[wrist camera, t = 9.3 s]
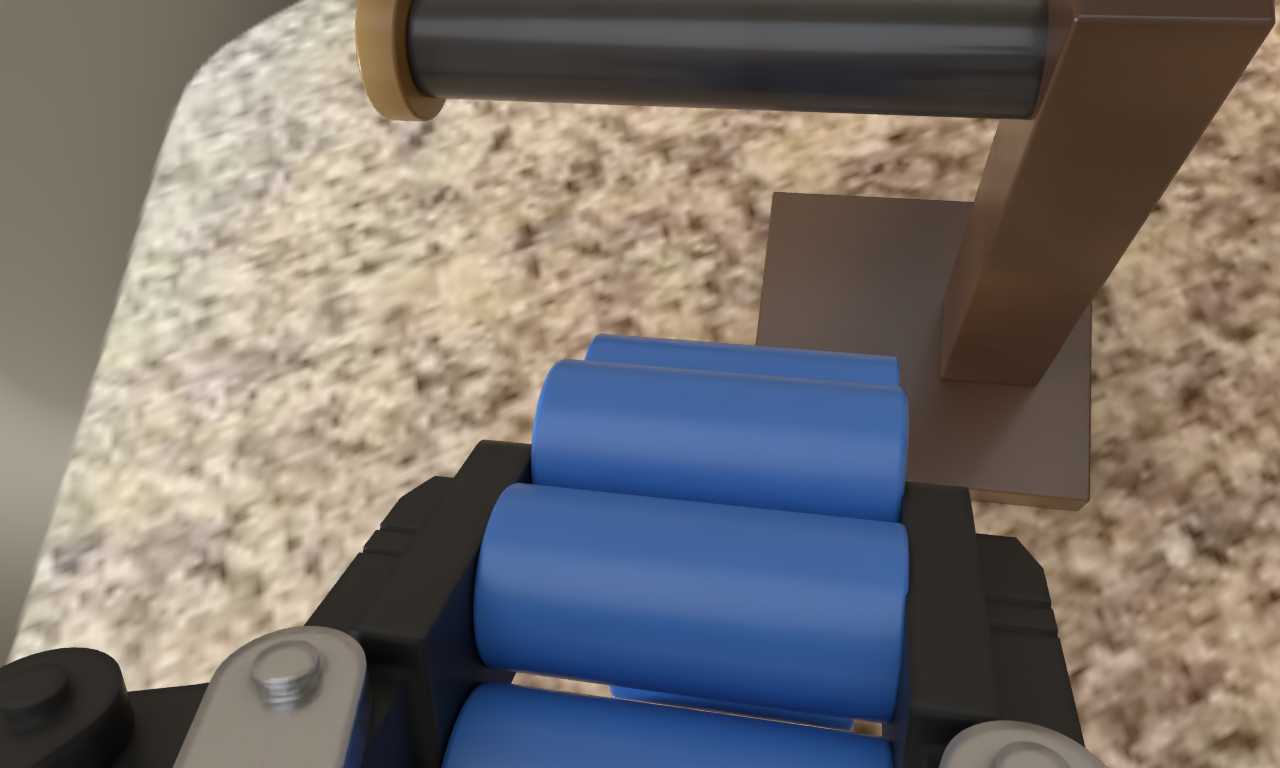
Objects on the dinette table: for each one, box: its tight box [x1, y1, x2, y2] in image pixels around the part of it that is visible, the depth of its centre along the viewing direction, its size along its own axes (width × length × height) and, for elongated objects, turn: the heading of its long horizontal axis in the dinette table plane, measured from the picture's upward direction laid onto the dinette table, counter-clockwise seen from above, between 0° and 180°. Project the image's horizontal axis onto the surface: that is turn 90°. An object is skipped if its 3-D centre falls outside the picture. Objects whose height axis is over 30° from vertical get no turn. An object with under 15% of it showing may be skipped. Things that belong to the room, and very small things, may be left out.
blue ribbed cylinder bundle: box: [441, 334, 910, 768], centre depth 14 cm, size 4×9×9 cm, turn 172°
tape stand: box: [355, 0, 1275, 511], centre depth 21 cm, size 14×8×16 cm, turn 82°
